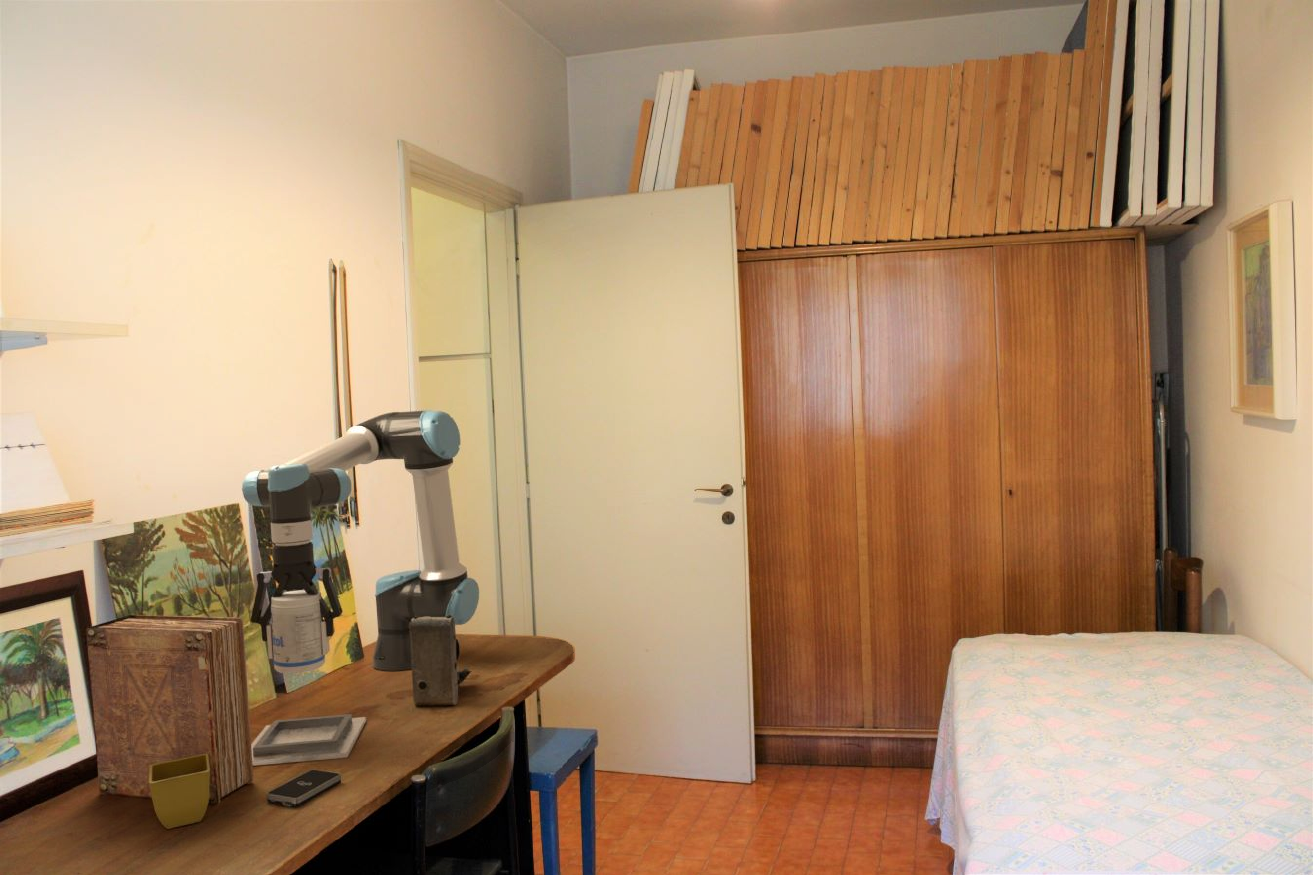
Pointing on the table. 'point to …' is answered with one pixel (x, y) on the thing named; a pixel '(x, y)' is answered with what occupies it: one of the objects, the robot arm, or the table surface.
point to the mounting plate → (306, 739)
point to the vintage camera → (435, 661)
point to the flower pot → (180, 790)
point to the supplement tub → (297, 632)
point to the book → (169, 700)
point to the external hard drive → (303, 788)
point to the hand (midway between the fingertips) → (299, 654)
